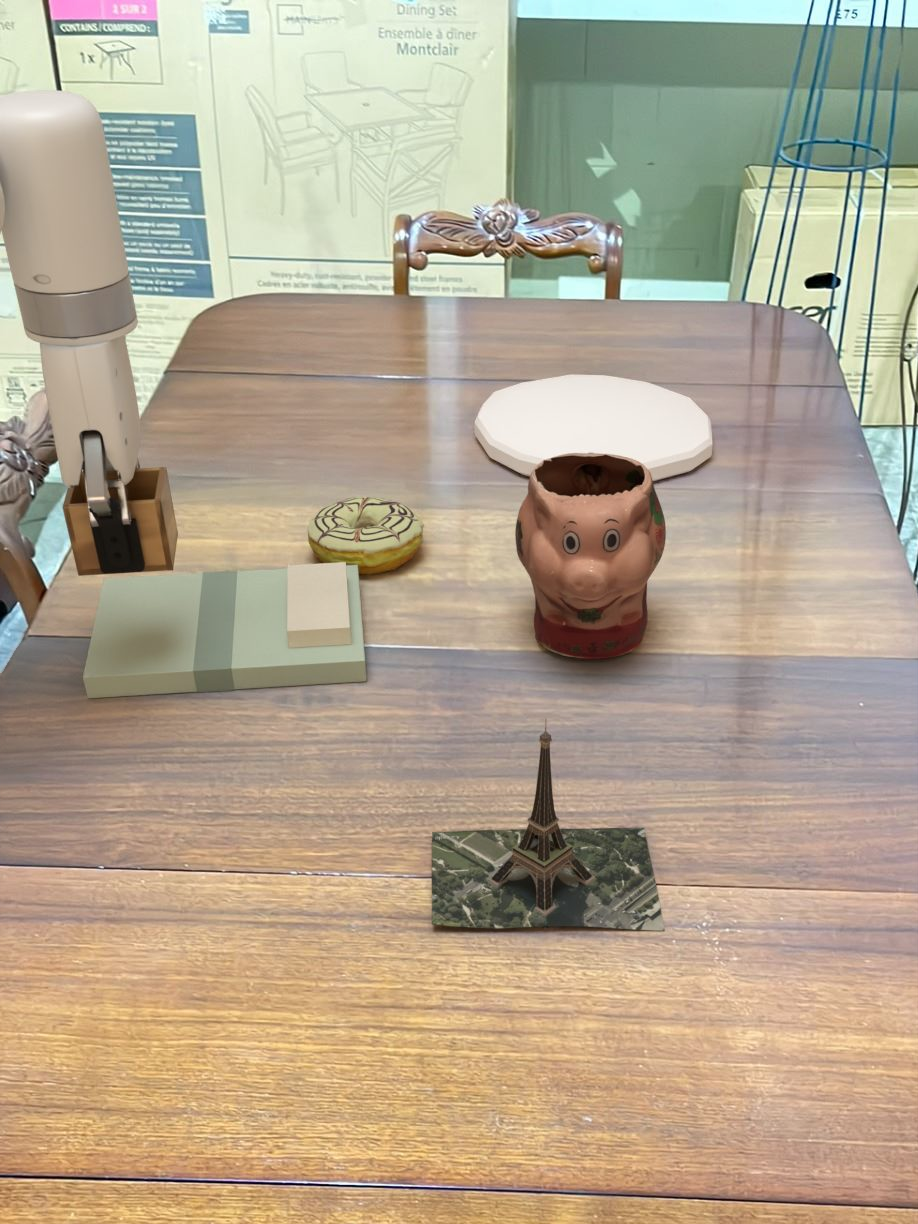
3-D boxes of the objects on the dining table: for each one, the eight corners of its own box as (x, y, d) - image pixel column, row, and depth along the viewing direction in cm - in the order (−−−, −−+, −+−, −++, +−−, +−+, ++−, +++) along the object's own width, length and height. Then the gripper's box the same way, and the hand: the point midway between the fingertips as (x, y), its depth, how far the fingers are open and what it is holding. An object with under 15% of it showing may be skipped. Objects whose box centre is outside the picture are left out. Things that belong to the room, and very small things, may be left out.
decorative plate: (762, 421, 138) (547, 468, 130) (757, 460, 141) (546, 509, 132) (634, 343, 155) (437, 380, 146) (632, 380, 158) (438, 418, 149)
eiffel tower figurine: (647, 832, 95) (662, 667, 86) (664, 930, 87) (683, 761, 78) (432, 836, 94) (425, 671, 86) (431, 935, 87) (423, 765, 78)
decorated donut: (429, 527, 129) (428, 490, 127) (418, 582, 121) (416, 543, 119) (320, 524, 130) (317, 486, 127) (302, 578, 122) (298, 540, 119)
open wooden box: (78, 576, 101) (62, 507, 98) (87, 538, 106) (72, 471, 102) (173, 570, 102) (160, 501, 98) (178, 533, 106) (166, 466, 103)
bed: (87, 699, 107) (78, 659, 105) (108, 598, 119) (99, 560, 117) (366, 682, 109) (363, 642, 107) (359, 585, 121) (356, 547, 119)
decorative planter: (508, 569, 123) (509, 418, 114) (642, 566, 124) (653, 416, 115) (521, 689, 108) (523, 527, 99) (673, 685, 109) (689, 523, 100)
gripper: (38, 266, 98) (90, 502, 110) (0, 354, 85) (63, 609, 97) (144, 262, 98) (184, 497, 110) (122, 348, 86) (170, 603, 98)
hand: (127, 547), depth 104 cm, fingers closed on open wooden box, 6 cm apart
